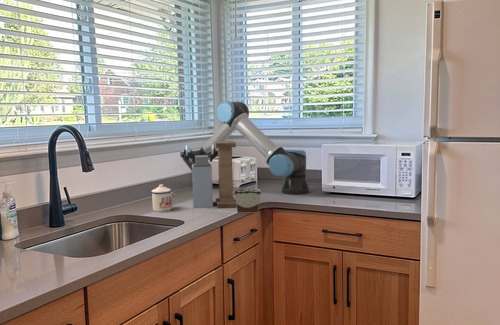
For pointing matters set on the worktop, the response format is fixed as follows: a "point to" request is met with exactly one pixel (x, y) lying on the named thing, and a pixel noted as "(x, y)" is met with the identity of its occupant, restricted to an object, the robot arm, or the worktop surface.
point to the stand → (225, 174)
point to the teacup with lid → (162, 199)
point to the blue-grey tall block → (202, 185)
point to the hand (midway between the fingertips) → (199, 147)
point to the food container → (247, 200)
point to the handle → (201, 160)
